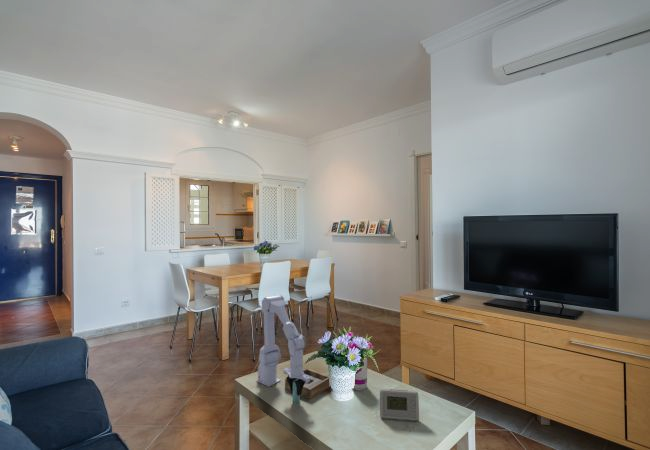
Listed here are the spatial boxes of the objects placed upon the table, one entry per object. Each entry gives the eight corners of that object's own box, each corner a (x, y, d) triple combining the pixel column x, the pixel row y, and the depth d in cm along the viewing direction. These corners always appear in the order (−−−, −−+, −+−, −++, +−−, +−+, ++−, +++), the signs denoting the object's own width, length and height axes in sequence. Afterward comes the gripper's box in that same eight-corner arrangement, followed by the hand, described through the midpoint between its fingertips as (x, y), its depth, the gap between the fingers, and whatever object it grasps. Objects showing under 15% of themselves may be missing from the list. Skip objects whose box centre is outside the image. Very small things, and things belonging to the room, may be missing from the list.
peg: (291, 401, 152) (291, 381, 152) (295, 398, 155) (296, 378, 155) (296, 403, 150) (296, 383, 150) (301, 400, 153) (301, 380, 153)
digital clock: (378, 419, 140) (378, 393, 139) (381, 407, 148) (381, 383, 148) (418, 426, 135) (419, 400, 134) (419, 414, 143) (420, 389, 143)
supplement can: (361, 392, 161) (361, 361, 160) (346, 387, 166) (347, 357, 165) (369, 386, 167) (370, 356, 167) (355, 381, 172) (356, 352, 172)
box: (285, 388, 164) (285, 379, 164) (306, 376, 177) (306, 368, 177) (309, 399, 154) (310, 389, 154) (330, 386, 167) (331, 377, 167)
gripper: (278, 362, 154) (278, 391, 154) (302, 371, 145) (302, 402, 145) (289, 357, 159) (289, 385, 159) (313, 365, 150) (312, 395, 151)
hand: (296, 393), depth 153 cm, fingers closed on peg, 3 cm apart
